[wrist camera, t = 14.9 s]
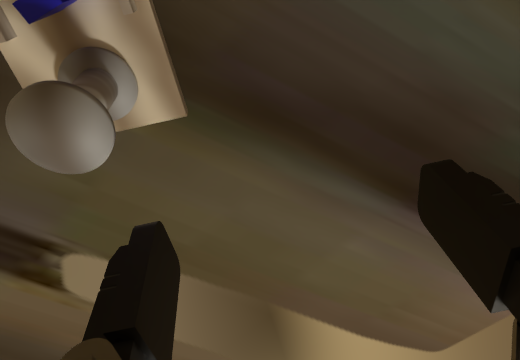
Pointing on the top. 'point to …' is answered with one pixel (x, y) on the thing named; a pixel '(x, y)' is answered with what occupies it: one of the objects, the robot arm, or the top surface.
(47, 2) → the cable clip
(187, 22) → the top surface
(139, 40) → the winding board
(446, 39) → the top surface
